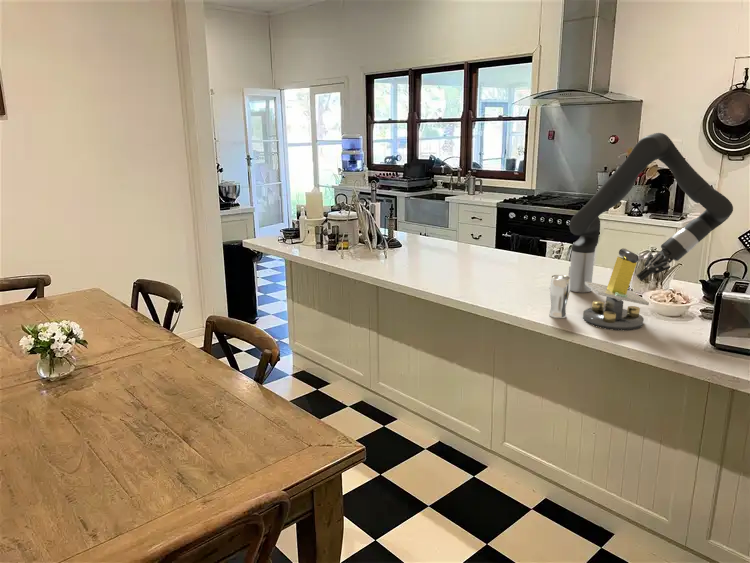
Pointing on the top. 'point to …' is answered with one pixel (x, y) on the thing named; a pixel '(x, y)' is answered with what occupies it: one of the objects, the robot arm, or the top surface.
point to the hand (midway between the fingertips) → (639, 278)
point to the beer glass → (559, 295)
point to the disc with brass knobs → (613, 315)
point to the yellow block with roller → (620, 279)
